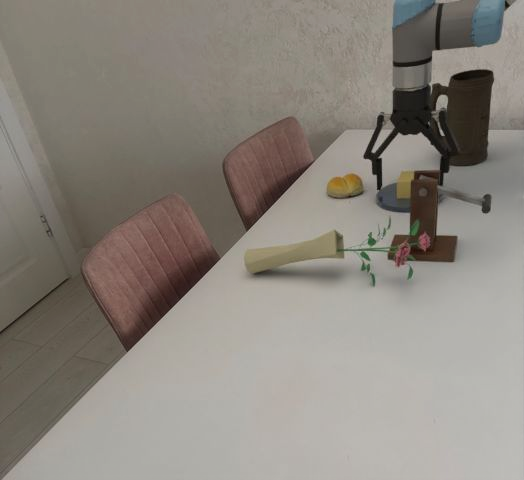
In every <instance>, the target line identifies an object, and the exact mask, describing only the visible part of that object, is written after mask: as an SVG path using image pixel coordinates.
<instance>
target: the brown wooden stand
mask: <svg viewBox="0 0 524 480" xmlns="http://www.w3.org/2000/svg"><path fill="white" fill-rule="evenodd" d="M414 171H415V172H414V180H411V193H410V212H409V230H410V229H411V227H412V226H413V224H414V223H415V221H416V220H417V219H418V221H419V228H418V231H417V233H416V234H415V236H414V235H411V233H409V234H394V235H393V238H392V241H391V244H390V247H395V246H398V245H401V244H402V243H404V242H405V241H407V243H408V244H413V243H417V242H418V239H419V237H420V236H421V235H423V234H424V233H425V232H426V235H427V236H428V237H430V239H429V240H430V242H429V244H430V245H428V246H429V247H427V248H426V251H425V250H423V249H421V248H419V247H418V245H417V244H415V245H410V252H409V255H411V256H412V257H413V258H414V259H415V260H416V261H417V262H418V261H420V262H421V261H422V262H443V263H444V262H446V263H453V262H454V261H455V255H456V250H457V244H458V238H459V237H458V235H446V234H445V235H444V234H443V235H442V234H441V235H440V234H437V231H438V216H439V204H438V200H439V194H438V193H437V185H439V183H440V169H435V170H434V169H429V170H428V169H426V170H423V169H422V170H414ZM421 175H423V176H427V177H430V178H433V179H419V178H420V176H421ZM407 235H408V236H407ZM409 236H410V237H409ZM408 237H409V238H408ZM407 239H408V240H407ZM395 249H397V248H395ZM395 249H394V248H389V249H388V251H396V250H395ZM424 251H425V252H424ZM394 257H395V253H390V252H387V260H391V261H393V260H394ZM415 260H413V259H410V258H407V261H415Z"/></svg>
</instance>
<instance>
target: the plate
mask: <svg viewBox="0 0 524 480" xmlns="http://www.w3.org/2000/svg"><path fill="white" fill-rule="evenodd" d="M375 196H376V197H375V198H376V199H375V200H376V205H378V206H379V207H380V208H382V209H383V210H386V211H389V212H395V213H410V198H409V199H397V182H393V183H390V184H387V185H386V186H384V187H383V186H382V187H381V190H377V193H376V195H375ZM444 197H445V195H442V194H439V200H438V205H439V204H441V202H442V201H443V200H444Z"/></svg>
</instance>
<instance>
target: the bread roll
mask: <svg viewBox="0 0 524 480" xmlns="http://www.w3.org/2000/svg"><path fill="white" fill-rule="evenodd" d="M325 190H326V194H327V195H328V196H330V197H333V198H338V199H345V198H348V197H349V196H350V197H355V196H357V195H360V193H362V192H363V191H364V183H363V179H362V178H361V177H360V176H359V175H357V174H355V173H346V175H344V176H333V177H332V178H331V179H330V180H329V181H328V182H327V184H326V189H325Z"/></svg>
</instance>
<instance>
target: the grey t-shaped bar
mask: <svg viewBox="0 0 524 480" xmlns="http://www.w3.org/2000/svg"><path fill="white" fill-rule="evenodd" d="M419 179H433V178H430V177H427V176H423V175H421V176H420V178H419ZM437 193H438V194H442V195H444V197H448V198H451V199H456V200H459V201H462V202H465V203H469V204H473V205H477V206H479V207H481V213H483V214H486V215H487V214H489V213H491V211H492V199H493V196H492V194H490V193H485V194H484V195H483V196H482V197H481V196H480V197H479V196H476V195H474V194H469V193H466V192H463V191H459V190H456V189H452V188H449V187H445V186H443V187H442V186H439V185H437Z"/></svg>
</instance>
